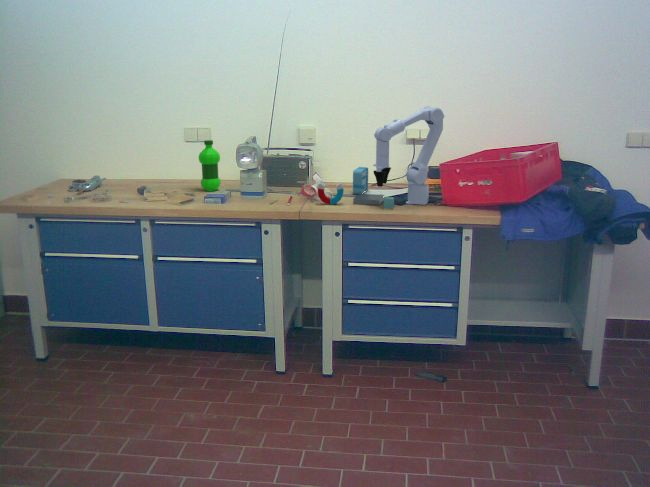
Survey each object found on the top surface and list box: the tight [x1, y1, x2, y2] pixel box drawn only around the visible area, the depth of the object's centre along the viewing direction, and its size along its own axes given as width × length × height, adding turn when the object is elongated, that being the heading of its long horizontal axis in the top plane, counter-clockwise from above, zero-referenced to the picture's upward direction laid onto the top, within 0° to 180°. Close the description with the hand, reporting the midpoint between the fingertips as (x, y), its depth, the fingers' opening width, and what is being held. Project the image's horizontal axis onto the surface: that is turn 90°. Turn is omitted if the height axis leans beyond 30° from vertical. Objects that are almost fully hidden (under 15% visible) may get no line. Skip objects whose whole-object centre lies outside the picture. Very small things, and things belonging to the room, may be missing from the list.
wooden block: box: [382, 196, 395, 210], centre depth 292 cm, size 4×4×4 cm
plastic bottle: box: [198, 139, 222, 192], centre depth 327 cm, size 10×10×25 cm
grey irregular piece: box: [68, 175, 107, 195], centre depth 332 cm, size 6×28×16 cm
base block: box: [352, 193, 385, 207], centre depth 303 cm, size 12×12×2 cm
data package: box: [352, 166, 369, 195], centre depth 323 cm, size 12×4×12 cm, turn 161°
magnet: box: [317, 181, 344, 206], centre depth 298 cm, size 12×3×10 cm, turn 86°
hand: (382, 184), depth 294 cm, fingers open, 7 cm apart
